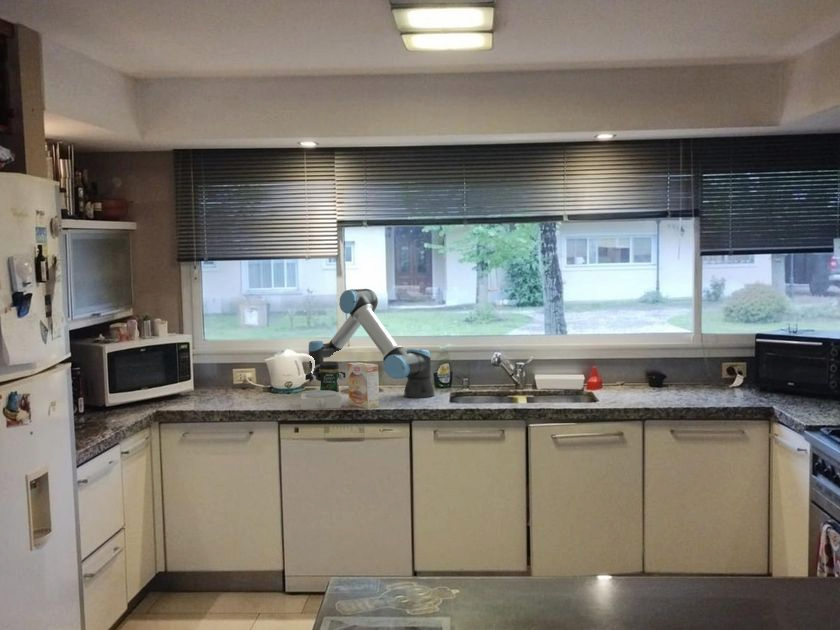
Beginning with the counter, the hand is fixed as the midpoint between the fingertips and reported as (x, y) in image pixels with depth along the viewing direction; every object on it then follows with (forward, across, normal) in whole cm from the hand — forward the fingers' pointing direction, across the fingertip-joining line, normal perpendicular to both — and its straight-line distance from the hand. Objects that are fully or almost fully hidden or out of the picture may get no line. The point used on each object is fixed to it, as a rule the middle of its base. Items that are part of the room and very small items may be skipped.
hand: (328, 378), depth 373 cm
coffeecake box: (+24, -11, -11) cm, 29 cm away
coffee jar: (-1, 0, -11) cm, 11 cm away
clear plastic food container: (+16, +8, -10) cm, 21 cm away
